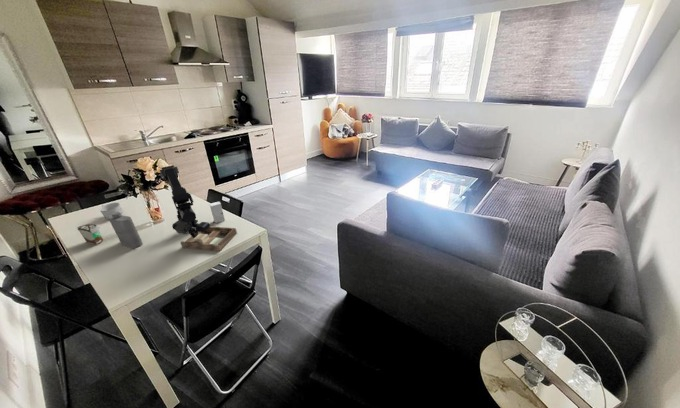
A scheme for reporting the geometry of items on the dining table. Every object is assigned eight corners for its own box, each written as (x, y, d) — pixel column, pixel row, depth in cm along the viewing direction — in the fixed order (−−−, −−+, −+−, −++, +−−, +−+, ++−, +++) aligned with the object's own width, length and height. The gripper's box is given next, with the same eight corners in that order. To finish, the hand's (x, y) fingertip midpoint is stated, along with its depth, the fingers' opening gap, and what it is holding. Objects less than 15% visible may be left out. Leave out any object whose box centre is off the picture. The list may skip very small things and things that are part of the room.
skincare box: (215, 223, 165) (210, 206, 159) (213, 220, 168) (208, 203, 162) (225, 220, 168) (220, 203, 162) (224, 217, 171) (219, 201, 165)
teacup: (127, 215, 179) (122, 204, 175) (108, 222, 171) (102, 211, 167) (118, 210, 185) (113, 200, 182) (99, 217, 177) (94, 206, 174)
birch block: (195, 243, 143) (193, 238, 142) (201, 237, 147) (199, 233, 146) (203, 244, 142) (201, 239, 141) (209, 238, 147) (207, 234, 145)
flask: (117, 243, 149) (101, 213, 139) (128, 238, 153) (113, 208, 144) (134, 249, 143) (118, 218, 134) (144, 243, 148) (130, 213, 138)
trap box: (182, 247, 143) (180, 241, 142) (202, 230, 158) (200, 224, 156) (220, 251, 139) (218, 245, 137) (237, 233, 154) (235, 227, 152)
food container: (110, 239, 153) (102, 224, 148) (99, 245, 148) (90, 230, 143) (96, 236, 157) (88, 221, 152) (84, 241, 152) (76, 227, 147)
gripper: (159, 220, 132) (170, 246, 140) (192, 223, 129) (201, 249, 136) (175, 210, 142) (184, 234, 149) (206, 212, 139) (214, 237, 146)
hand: (195, 238), depth 145 cm, fingers closed
